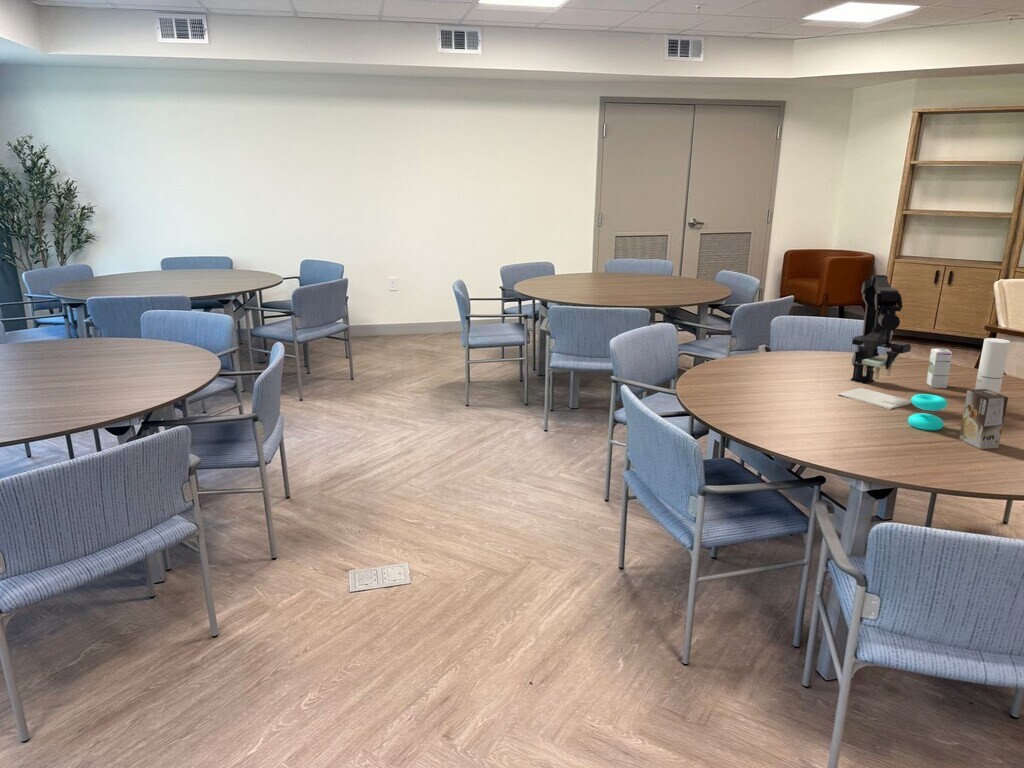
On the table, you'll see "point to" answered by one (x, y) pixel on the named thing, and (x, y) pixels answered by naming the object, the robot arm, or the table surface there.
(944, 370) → the syrup box
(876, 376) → the stool
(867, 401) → the white rectangular board
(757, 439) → the table surface
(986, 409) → the coffee box
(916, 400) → the donuts
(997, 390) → the cylindrical container
